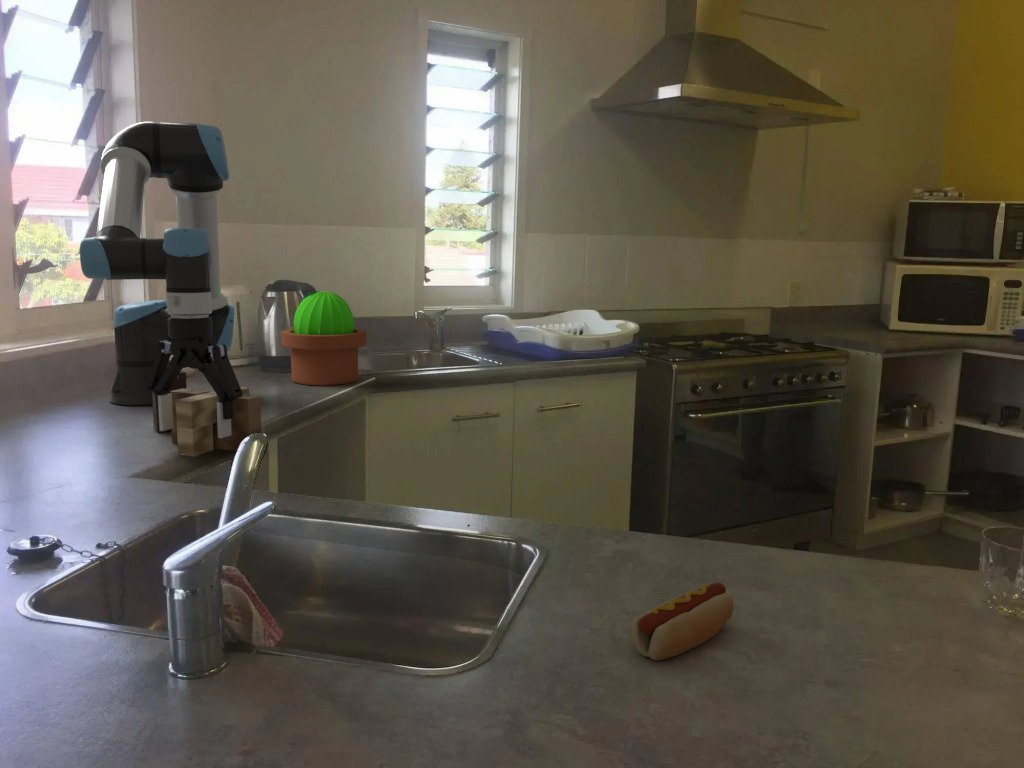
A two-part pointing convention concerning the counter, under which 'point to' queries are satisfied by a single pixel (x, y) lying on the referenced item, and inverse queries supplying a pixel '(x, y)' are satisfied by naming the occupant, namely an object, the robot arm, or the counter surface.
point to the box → (177, 384)
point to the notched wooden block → (241, 423)
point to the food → (682, 622)
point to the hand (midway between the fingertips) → (195, 433)
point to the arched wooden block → (197, 422)
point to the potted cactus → (324, 341)
